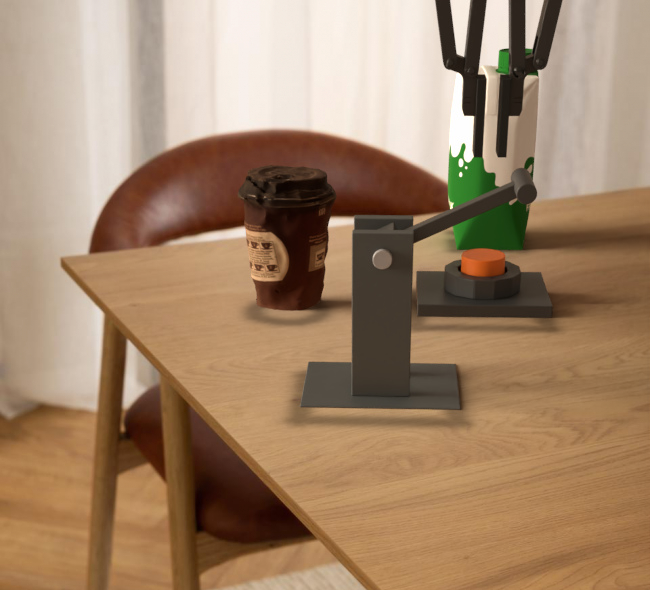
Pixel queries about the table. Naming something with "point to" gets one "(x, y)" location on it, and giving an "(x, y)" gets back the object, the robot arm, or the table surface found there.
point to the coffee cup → (287, 234)
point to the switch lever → (476, 206)
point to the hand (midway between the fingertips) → (489, 153)
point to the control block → (482, 294)
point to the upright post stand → (381, 332)
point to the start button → (483, 262)
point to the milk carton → (492, 162)
